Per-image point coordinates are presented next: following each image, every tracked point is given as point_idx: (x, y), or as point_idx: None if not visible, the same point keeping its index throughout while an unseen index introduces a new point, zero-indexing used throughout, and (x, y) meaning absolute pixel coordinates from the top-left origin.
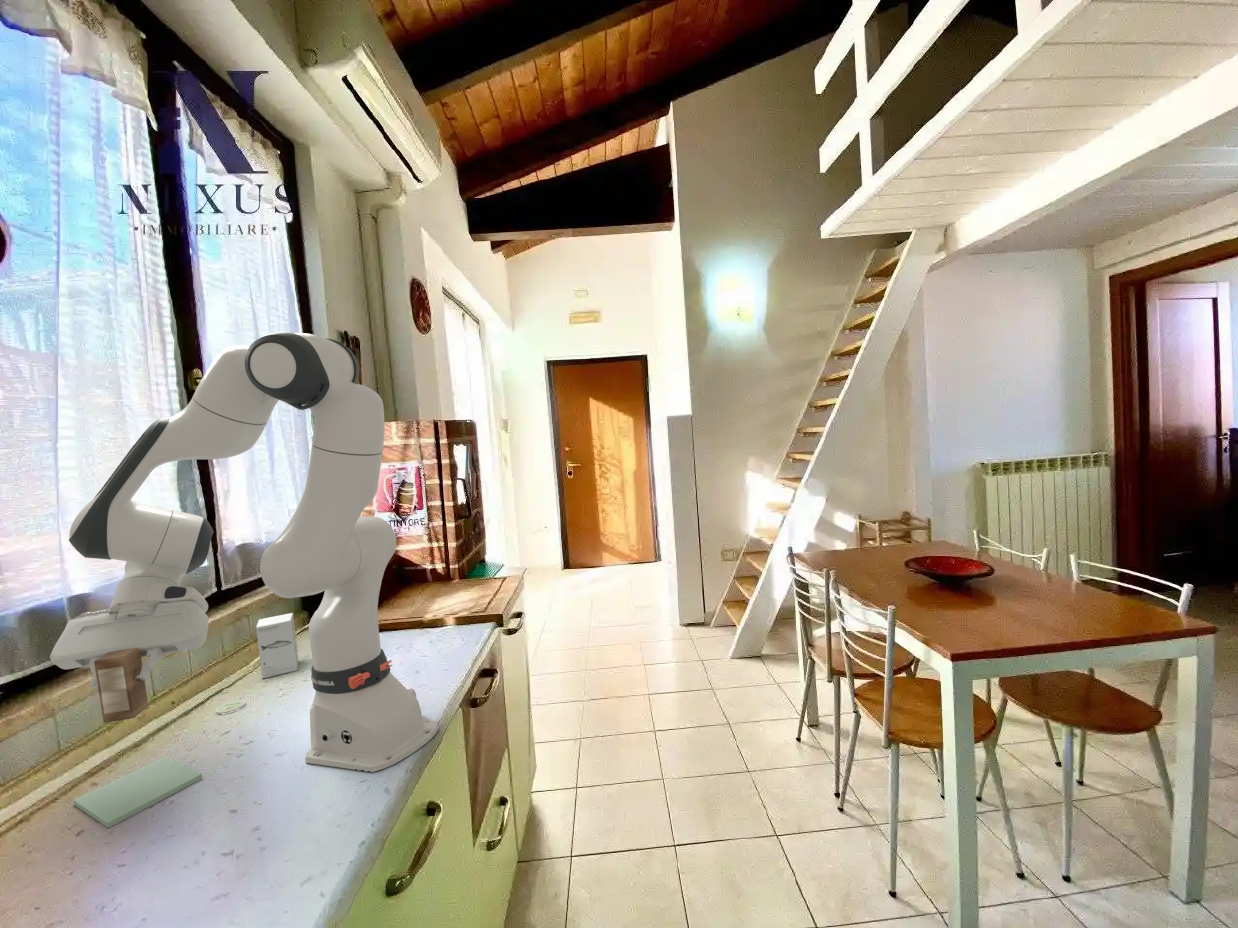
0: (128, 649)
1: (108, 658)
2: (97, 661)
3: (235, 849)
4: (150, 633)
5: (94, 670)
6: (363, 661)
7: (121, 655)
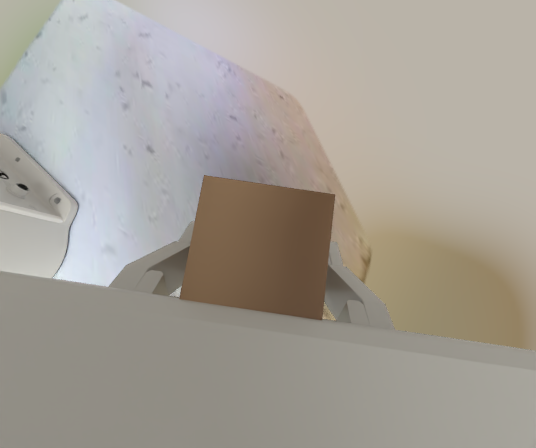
0: (223, 296)
1: (275, 189)
2: (319, 192)
3: (140, 85)
4: (71, 378)
5: (348, 276)
6: None
7: (226, 200)
